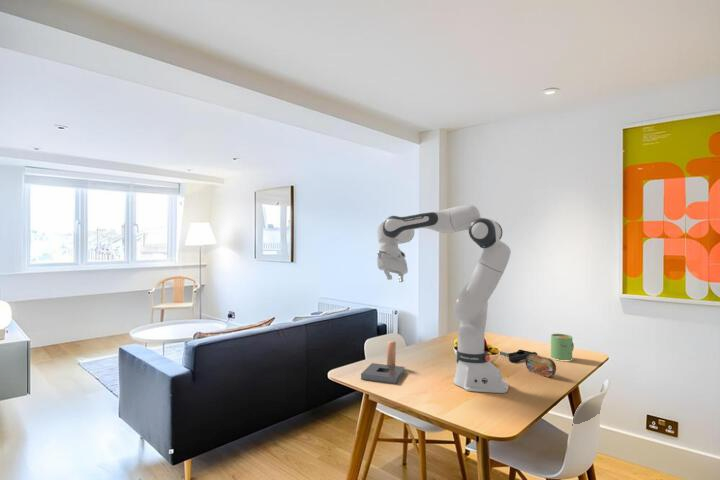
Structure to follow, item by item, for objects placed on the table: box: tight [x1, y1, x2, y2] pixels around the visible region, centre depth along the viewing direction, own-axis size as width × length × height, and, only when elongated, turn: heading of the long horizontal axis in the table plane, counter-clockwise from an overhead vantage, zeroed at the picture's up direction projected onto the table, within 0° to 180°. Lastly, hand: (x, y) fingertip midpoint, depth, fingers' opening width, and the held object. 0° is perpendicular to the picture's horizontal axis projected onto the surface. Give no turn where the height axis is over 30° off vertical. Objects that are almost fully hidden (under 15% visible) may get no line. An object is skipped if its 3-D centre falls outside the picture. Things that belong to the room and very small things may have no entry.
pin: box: [386, 340, 397, 366], centre depth 193 cm, size 4×4×12 cm
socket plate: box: [360, 362, 406, 385], centre depth 180 cm, size 16×16×2 cm
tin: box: [524, 354, 557, 378], centre depth 185 cm, size 15×3×8 cm, turn 27°
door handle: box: [498, 349, 539, 363], centre depth 211 cm, size 3×20×16 cm
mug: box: [550, 333, 575, 360], centre depth 209 cm, size 13×10×12 cm
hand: (395, 280), depth 185 cm, fingers open, 8 cm apart
